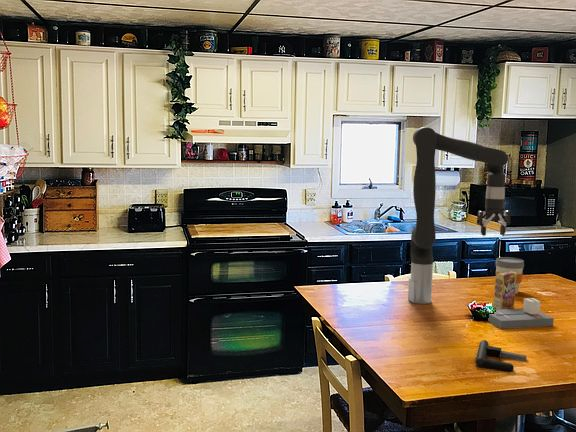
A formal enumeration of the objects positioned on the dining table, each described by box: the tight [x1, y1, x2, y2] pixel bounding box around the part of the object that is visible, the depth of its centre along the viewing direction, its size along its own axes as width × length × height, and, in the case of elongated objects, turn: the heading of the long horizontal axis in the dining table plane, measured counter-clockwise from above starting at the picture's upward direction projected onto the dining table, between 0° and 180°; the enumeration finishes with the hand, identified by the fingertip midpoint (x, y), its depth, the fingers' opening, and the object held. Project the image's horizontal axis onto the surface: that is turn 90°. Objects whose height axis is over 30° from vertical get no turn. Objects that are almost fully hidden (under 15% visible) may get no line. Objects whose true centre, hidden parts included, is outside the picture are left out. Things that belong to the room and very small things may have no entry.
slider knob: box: [522, 297, 541, 314], centre depth 237 cm, size 4×5×5 cm
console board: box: [487, 307, 555, 330], centre depth 236 cm, size 22×14×3 cm, turn 101°
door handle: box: [474, 339, 528, 373], centre depth 196 cm, size 3×20×16 cm
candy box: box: [492, 271, 517, 310], centre depth 254 cm, size 9×4×15 cm, turn 123°
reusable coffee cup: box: [494, 256, 525, 295], centre depth 281 cm, size 12×13×15 cm
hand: (492, 235), depth 257 cm, fingers open, 8 cm apart
